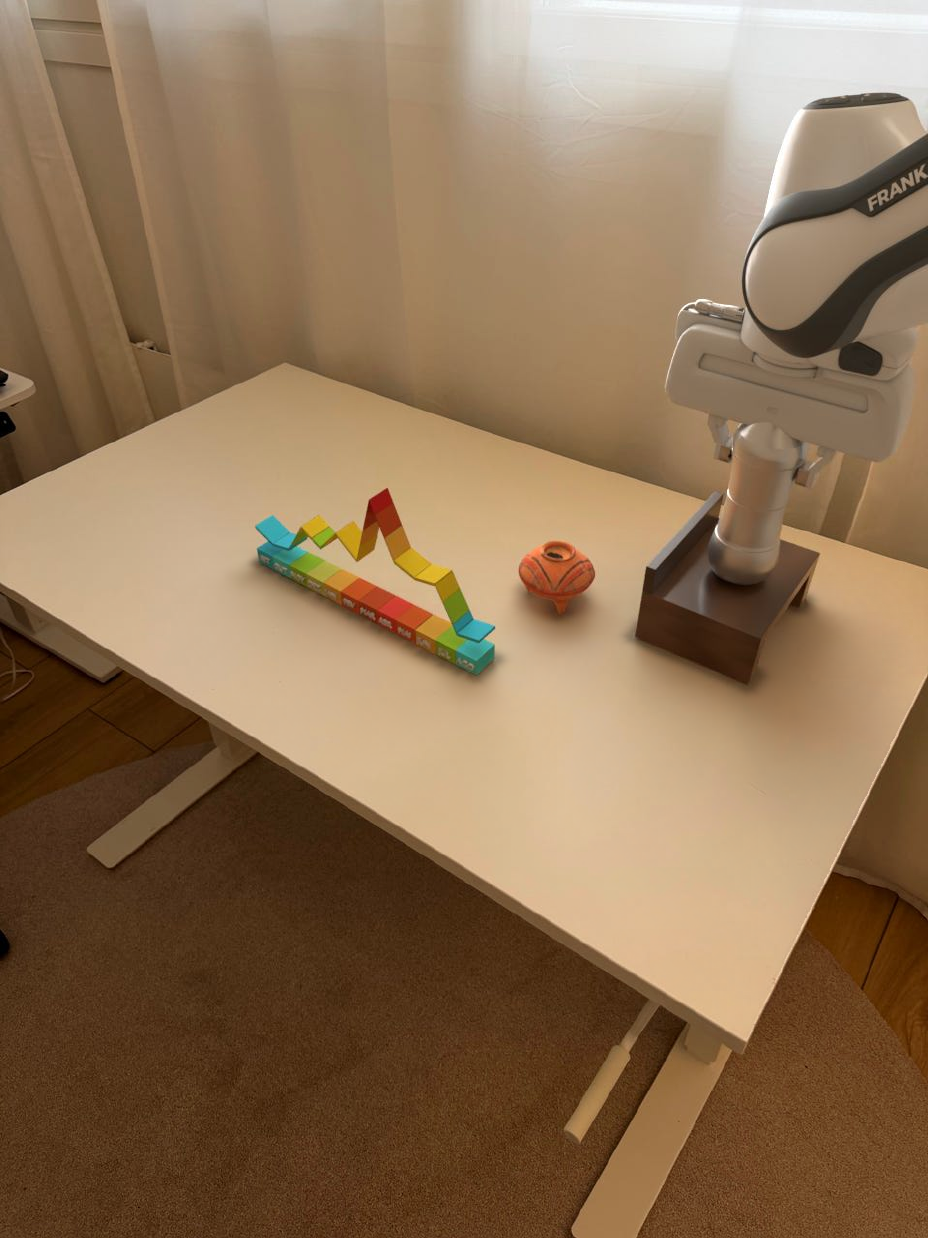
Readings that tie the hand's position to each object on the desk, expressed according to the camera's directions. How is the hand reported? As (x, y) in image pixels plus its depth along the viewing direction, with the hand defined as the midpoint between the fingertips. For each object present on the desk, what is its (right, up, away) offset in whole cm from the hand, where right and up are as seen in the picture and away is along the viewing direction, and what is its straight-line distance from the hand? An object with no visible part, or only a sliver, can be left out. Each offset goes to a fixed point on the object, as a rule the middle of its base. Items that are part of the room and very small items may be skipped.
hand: (764, 471), depth 81 cm
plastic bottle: (0, -9, +8) cm, 12 cm away
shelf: (0, -13, +12) cm, 18 cm away
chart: (-37, -12, +13) cm, 41 cm away
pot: (-17, -11, +15) cm, 25 cm away
